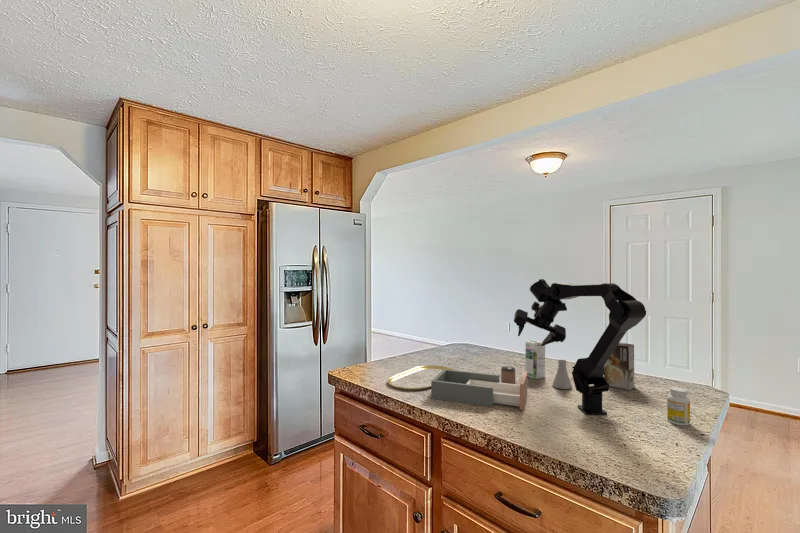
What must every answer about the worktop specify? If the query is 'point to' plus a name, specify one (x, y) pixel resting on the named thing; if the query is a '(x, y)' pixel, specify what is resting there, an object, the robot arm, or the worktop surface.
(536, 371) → the syrup box
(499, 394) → the tray
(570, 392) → the worktop surface
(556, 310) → the robot arm
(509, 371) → the spice jar
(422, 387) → the gold oval hoop
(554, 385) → the flask
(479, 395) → the dock
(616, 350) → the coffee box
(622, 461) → the worktop surface
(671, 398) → the supplement bottle
